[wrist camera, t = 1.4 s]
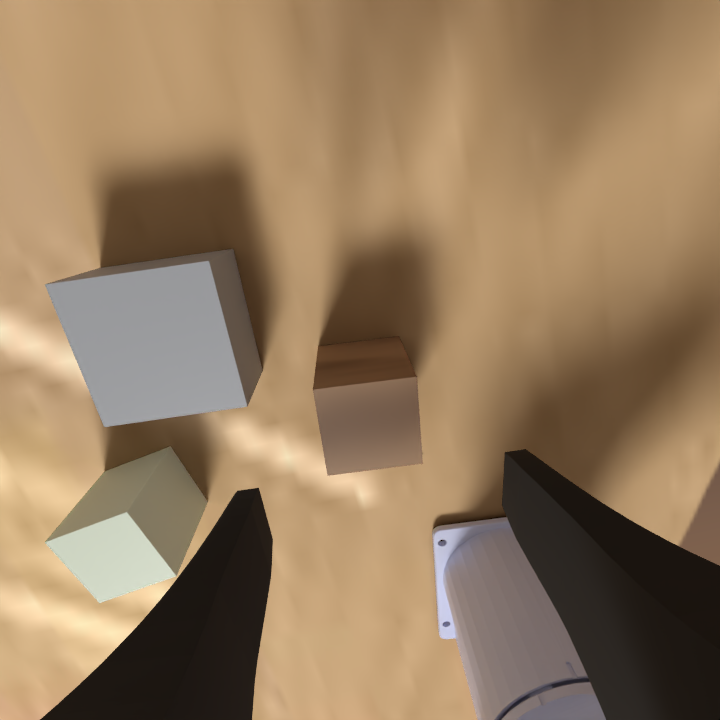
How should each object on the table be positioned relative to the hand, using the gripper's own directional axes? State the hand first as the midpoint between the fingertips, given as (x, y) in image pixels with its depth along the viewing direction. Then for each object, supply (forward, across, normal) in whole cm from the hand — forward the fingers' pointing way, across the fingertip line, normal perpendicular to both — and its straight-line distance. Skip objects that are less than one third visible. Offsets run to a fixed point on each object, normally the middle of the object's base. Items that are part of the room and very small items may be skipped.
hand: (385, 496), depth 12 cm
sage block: (+10, +12, +6) cm, 16 cm away
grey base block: (+10, +8, -3) cm, 13 cm away
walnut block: (+10, 0, +1) cm, 10 cm away
